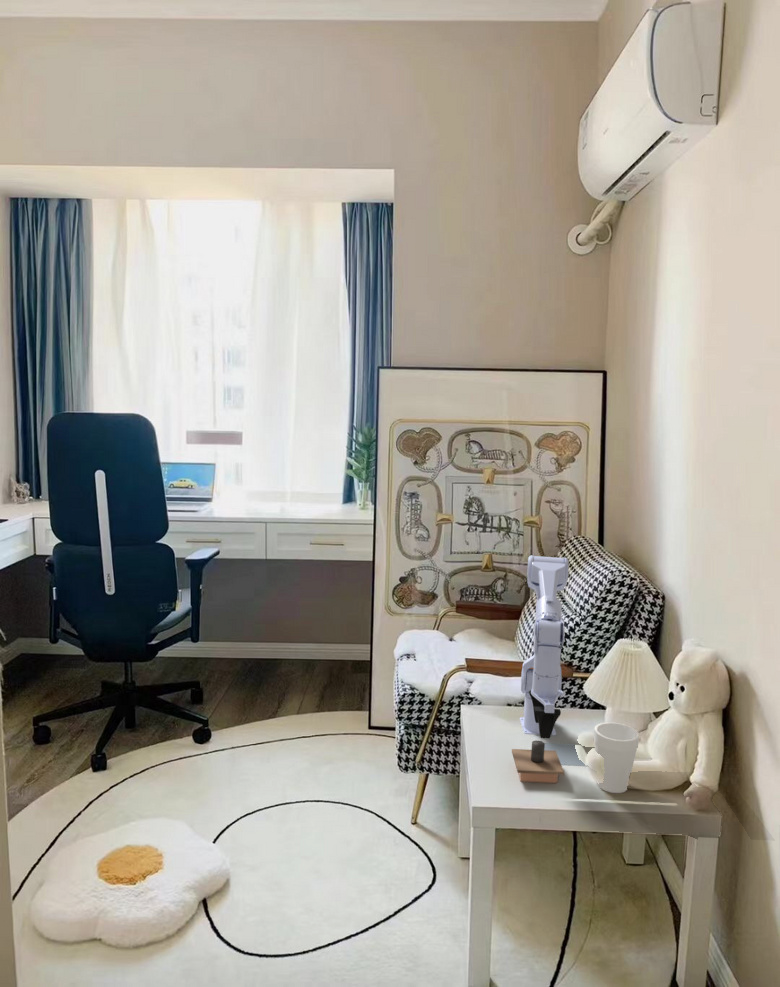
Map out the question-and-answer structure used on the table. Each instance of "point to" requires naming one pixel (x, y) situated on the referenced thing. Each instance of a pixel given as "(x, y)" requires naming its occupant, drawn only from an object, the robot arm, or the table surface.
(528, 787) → the table surface
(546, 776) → the open box
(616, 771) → the foam cup
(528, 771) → the lid
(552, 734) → the robot arm
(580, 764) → the mat
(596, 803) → the table surface
